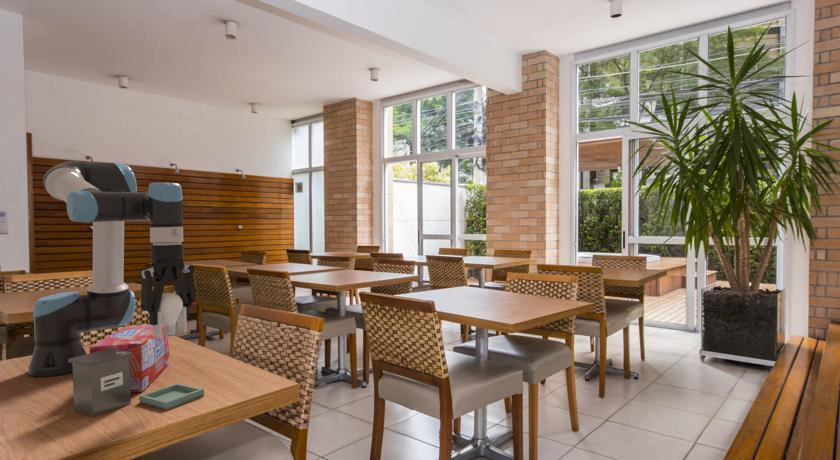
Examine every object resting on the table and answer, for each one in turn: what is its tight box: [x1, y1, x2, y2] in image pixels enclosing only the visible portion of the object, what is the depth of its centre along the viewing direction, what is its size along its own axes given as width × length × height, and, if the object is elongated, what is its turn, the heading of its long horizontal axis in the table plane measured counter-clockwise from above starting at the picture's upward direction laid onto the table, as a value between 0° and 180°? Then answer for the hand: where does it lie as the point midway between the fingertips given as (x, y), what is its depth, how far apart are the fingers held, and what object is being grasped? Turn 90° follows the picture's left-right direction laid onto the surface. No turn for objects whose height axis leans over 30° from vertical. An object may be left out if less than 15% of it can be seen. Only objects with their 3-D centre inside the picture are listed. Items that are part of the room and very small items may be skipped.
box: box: [88, 322, 170, 394], centre depth 144 cm, size 27×13×14 cm, turn 12°
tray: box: [138, 382, 205, 411], centre depth 127 cm, size 11×11×2 cm
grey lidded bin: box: [68, 349, 133, 417], centre depth 123 cm, size 9×10×13 cm
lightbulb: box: [158, 292, 183, 337], centre depth 127 cm, size 6×6×11 cm
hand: (170, 334), depth 127 cm, fingers closed on lightbulb, 6 cm apart
